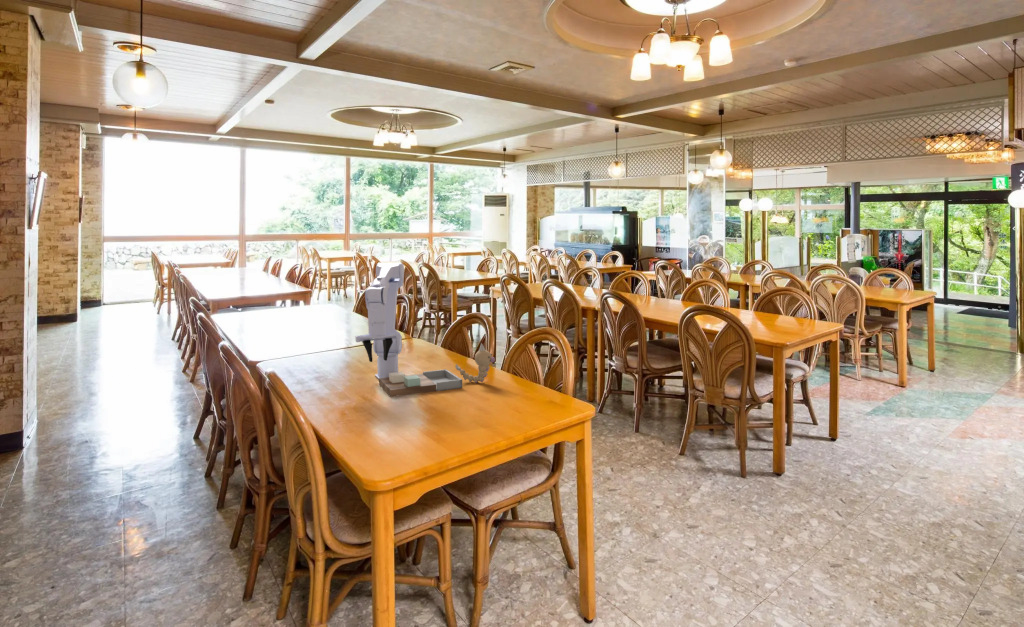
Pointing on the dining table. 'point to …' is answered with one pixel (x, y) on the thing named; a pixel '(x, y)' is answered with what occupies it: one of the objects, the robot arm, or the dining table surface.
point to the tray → (444, 379)
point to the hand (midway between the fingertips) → (378, 360)
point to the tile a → (396, 377)
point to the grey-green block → (412, 380)
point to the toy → (483, 361)
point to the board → (402, 389)
